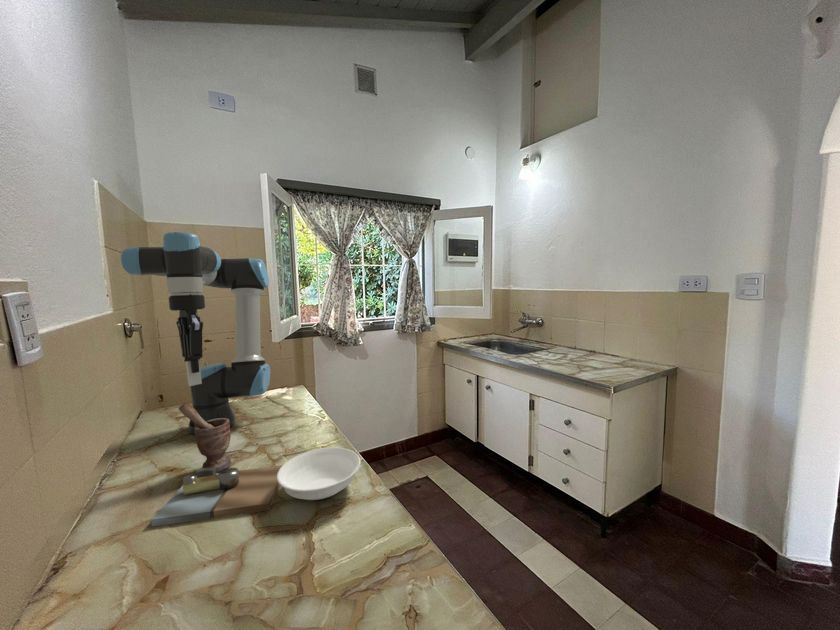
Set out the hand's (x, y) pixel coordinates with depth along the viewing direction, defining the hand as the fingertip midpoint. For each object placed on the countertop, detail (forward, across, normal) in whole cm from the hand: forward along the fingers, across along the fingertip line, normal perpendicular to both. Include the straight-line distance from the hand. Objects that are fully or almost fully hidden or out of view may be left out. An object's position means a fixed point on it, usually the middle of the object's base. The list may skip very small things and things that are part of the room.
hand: (194, 384), depth 87 cm
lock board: (+26, -12, -1) cm, 29 cm away
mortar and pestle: (+27, +5, -3) cm, 27 cm away
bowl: (+27, -30, -17) cm, 43 cm away
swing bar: (+25, -9, +1) cm, 26 cm away
